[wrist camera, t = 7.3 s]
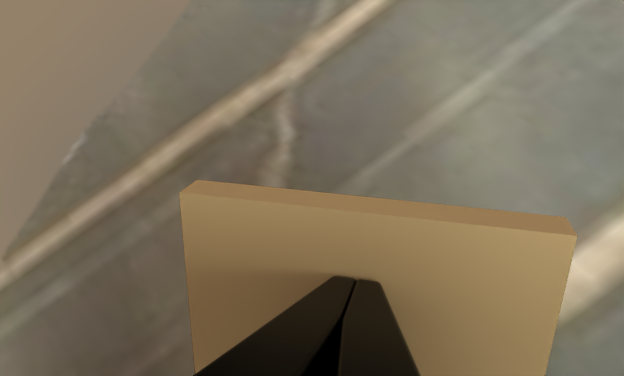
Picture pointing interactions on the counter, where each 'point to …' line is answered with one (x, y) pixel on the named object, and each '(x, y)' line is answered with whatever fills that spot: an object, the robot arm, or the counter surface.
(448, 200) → the counter surface
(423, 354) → the back flap
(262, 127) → the counter surface
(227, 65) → the counter surface
